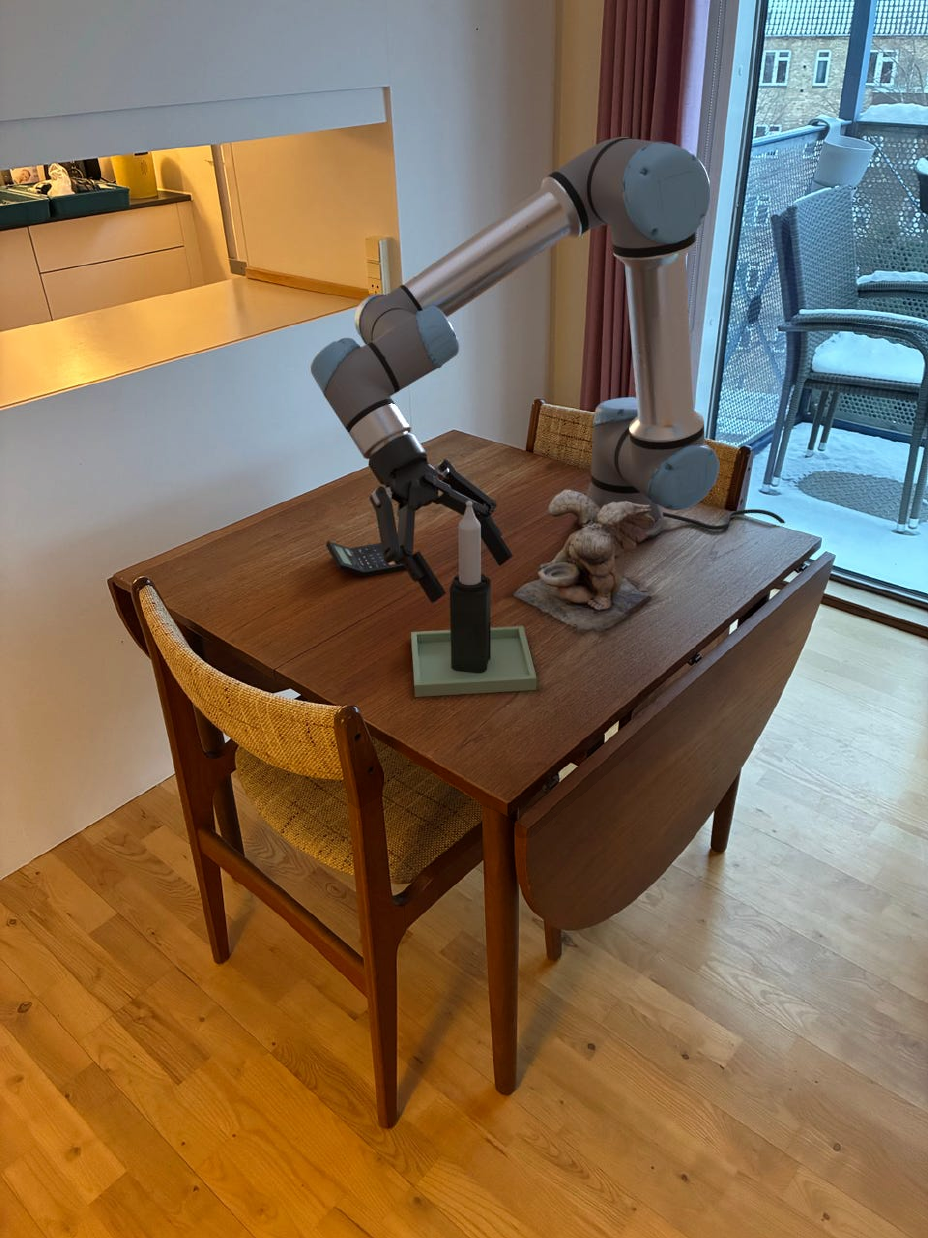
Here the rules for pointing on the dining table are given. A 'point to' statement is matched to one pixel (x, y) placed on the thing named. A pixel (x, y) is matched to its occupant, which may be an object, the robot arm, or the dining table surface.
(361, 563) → the calculator
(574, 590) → the cherub figurine
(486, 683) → the tray
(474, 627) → the candle
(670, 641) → the dining table surface
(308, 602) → the dining table surface
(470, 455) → the dining table surface
